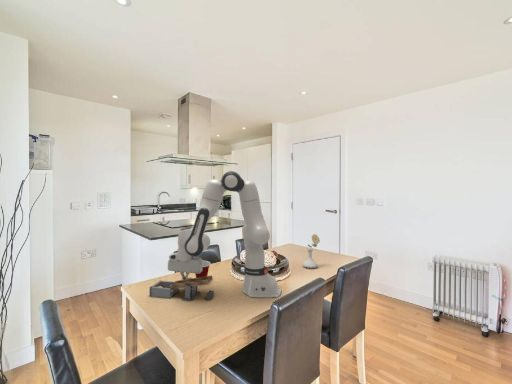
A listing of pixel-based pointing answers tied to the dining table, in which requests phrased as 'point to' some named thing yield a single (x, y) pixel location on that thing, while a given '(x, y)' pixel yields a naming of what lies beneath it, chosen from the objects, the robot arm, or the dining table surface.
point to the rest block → (209, 295)
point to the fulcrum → (190, 293)
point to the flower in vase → (310, 262)
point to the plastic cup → (204, 269)
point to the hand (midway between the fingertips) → (184, 279)
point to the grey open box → (163, 289)
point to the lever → (192, 282)
